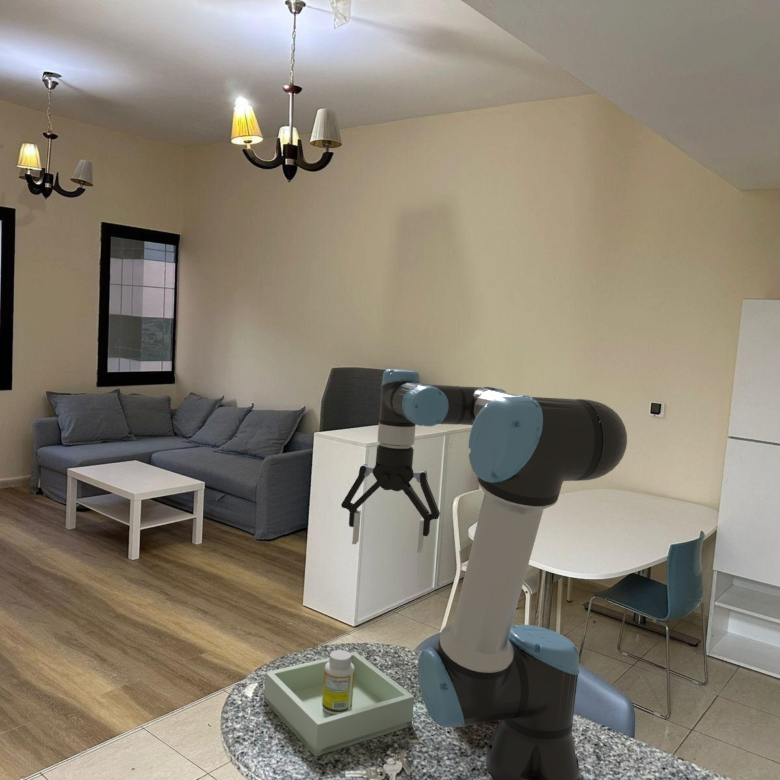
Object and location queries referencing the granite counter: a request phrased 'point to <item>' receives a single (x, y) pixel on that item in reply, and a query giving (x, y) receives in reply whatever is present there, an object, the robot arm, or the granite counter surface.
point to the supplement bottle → (338, 683)
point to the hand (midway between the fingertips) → (387, 546)
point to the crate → (332, 732)
